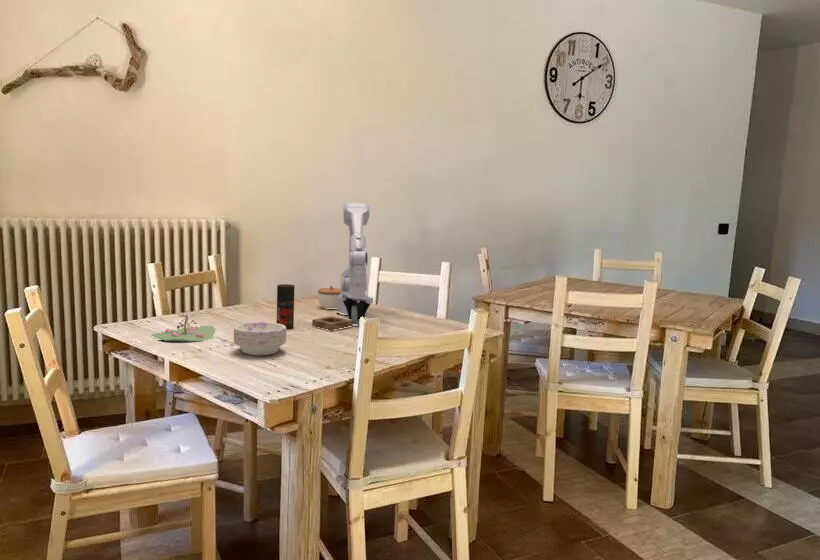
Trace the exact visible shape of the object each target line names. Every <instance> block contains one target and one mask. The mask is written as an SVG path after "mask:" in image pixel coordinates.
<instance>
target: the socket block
mask: <svg viewBox="0 0 820 560" xmlns="http://www.w3.org/2000/svg"><path fill="white" fill-rule="evenodd" d="M313 326H315V327H314V328H316V327H320V328H324V329H328V330H334V329H339V328H344V327H348V326H352V321H351V319H347V318H346V319H345V318H342V317H339V316H333V315H332V316H327V317H321V318H320V317H319V318H313V319H312V323H311V327H313ZM352 327H353V326H352ZM320 328H319V329H320ZM324 329H323V330H324Z"/></svg>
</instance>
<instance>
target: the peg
mask: <svg viewBox="0 0 820 560" xmlns="http://www.w3.org/2000/svg"><path fill="white" fill-rule="evenodd" d="M350 320H351V321H352V324H358V325H359V321H358V311H357V306H352V310H351V319H350Z"/></svg>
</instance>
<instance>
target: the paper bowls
mask: <svg viewBox="0 0 820 560" xmlns="http://www.w3.org/2000/svg"><path fill="white" fill-rule="evenodd" d="M286 343H287V330H286V326H284V325H282V324H278V323H277V322H270V321H269V322H266V321H256V322H244V323H239V324H236V325H234V327H233V344H234V345H236V346H239V347H240V350H241V352H243V353H244V354H246V355H249V356H257V357H259V356H263V357H264V356H270V355H273V354H275V353H277V352H278V351H279V349H280V347H281V346H284V345H285V344H286Z"/></svg>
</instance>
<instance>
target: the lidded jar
mask: <svg viewBox="0 0 820 560" xmlns="http://www.w3.org/2000/svg"><path fill="white" fill-rule="evenodd" d="M329 286H330V287H324V288H319V289H318V290H317V292H318V295H317V296H318V303H319V304H320V306H321V307H322V308H338V297H339V295H340V293H341V292H343V291H342V290H341V288H338V287H335V288H334V287H333V285H329Z"/></svg>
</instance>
